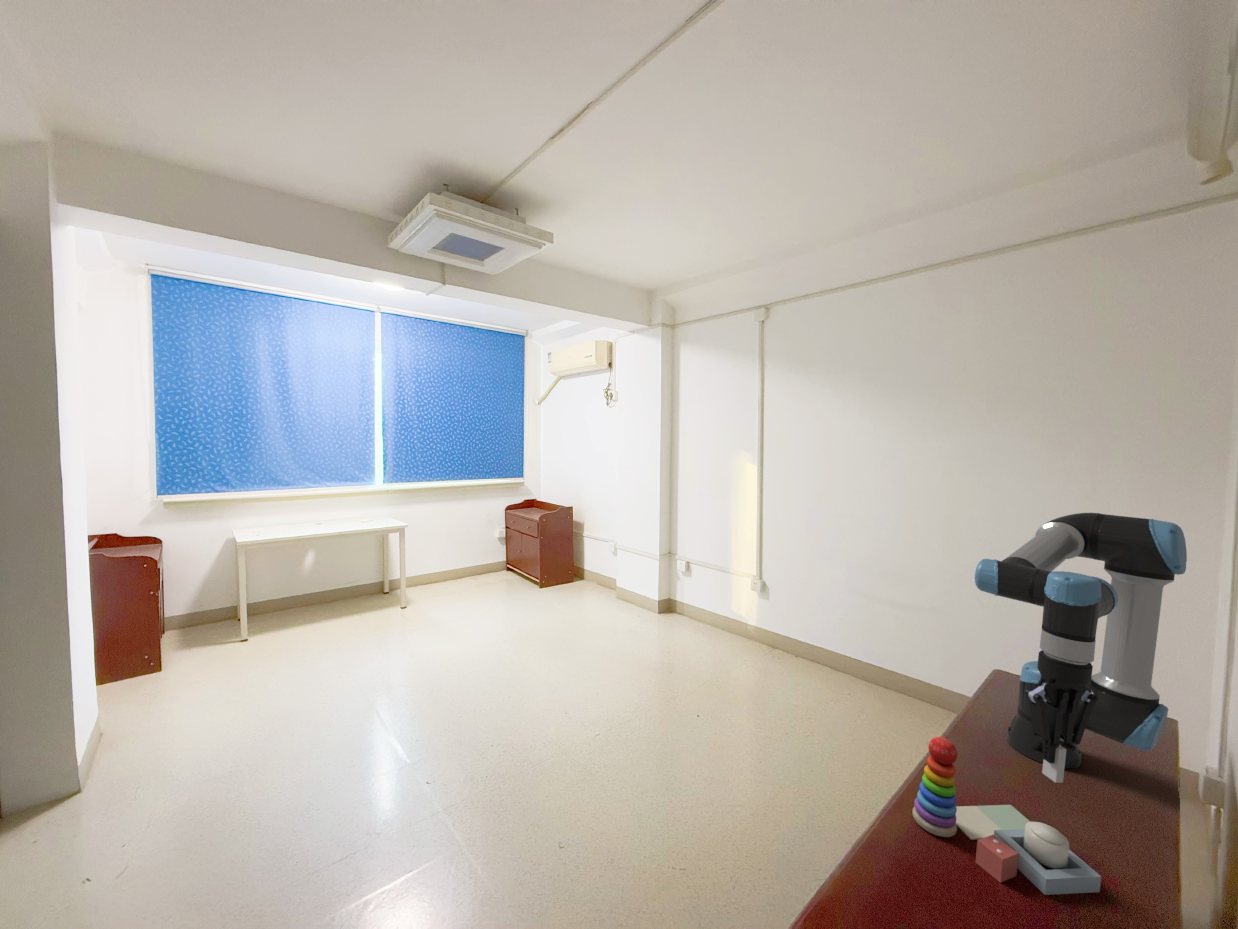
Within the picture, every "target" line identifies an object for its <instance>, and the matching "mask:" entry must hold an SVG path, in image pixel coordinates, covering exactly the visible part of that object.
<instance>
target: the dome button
mask: <svg viewBox="0 0 1238 929" xmlns="http://www.w3.org/2000/svg"><path fill="white" fill-rule="evenodd" d="M1023 847H1024V849H1025V851H1026V852H1027V853H1028V854H1029V855H1030V856H1031V857H1032V858H1033V859H1035V860H1036V861H1037V862H1038V863H1039V864H1040V865H1041V864H1042V865H1044V866H1046V867H1048V868H1051V869H1053V870H1056V869H1065V868H1066V867H1067V863H1068V853H1069V850H1070V842H1069V840H1068V839H1067V837H1066V836H1065V835H1064V834H1063V833H1061V832H1060V831H1059V830H1057V829H1056V828H1055V827H1053V826H1051V825H1049V824H1046V823H1044V822H1039V821H1030V822H1028V823H1026V825H1025V833H1024V843H1023Z"/></svg>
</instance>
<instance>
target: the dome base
mask: <svg viewBox="0 0 1238 929" xmlns="http://www.w3.org/2000/svg"><path fill="white" fill-rule="evenodd" d="M1024 833H1025V829H1012V830H994V836H996V837H997V838H999V839H1000V840H1001V841H1003V842H1004V843H1005V844H1007V845H1008V846H1009V847H1011V848H1012V849H1014V850H1015V851H1016V852H1018V853H1019V855H1018V865H1017V870H1018V871H1020V873H1022V875H1023V876H1024V877H1026V878H1027V879H1028V880H1029V881H1030V883H1031V884H1033V886H1035V888H1037V889H1038V890H1039V891H1040V892H1041V893H1042V894H1043V895H1044V896H1050V895H1052V896H1053V895H1054V896H1055V895H1069V894H1073V895H1074V894H1087V893H1091V894H1092V893H1100V892H1101V884H1102V883H1101V882H1102V876H1101V875H1100V874H1099V873H1098V872H1097V871H1095V870H1094V869H1093V868H1092V867H1091V866H1090V865H1088V864H1087V863H1086V862H1085V861H1083V860H1082V859H1081V858H1080V857H1079V856H1077V854H1075V853H1074V852H1073V851H1072V850H1071V849H1069V853H1068V863H1067V867H1066V868H1065V869H1046V868H1045V867H1043V866H1042V865H1041V863H1040V862H1038V861H1036V860H1035V859H1033V858H1032V857H1031V856H1030V855H1029V854H1028V853H1027V852H1026V851H1025V849H1024V847H1023V843H1024Z"/></svg>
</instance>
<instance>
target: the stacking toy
mask: <svg viewBox="0 0 1238 929" xmlns="http://www.w3.org/2000/svg"><path fill="white" fill-rule="evenodd" d="M928 752H929V755H930V756H928V757H927V759H926V764H925V766H924V768H923V772H924V773H923V775H922V777H921V780H922V781H921V782H920V783H919V790H918V791H917V793H916V797H915V799H914V800H913V801H914V803H913V804H914V806H913V808H912V810H911V811H912V813H911V814H912V817H913V819H914V821H916V823H917V824H918V825H919V826H920V827H921V828H922V829H923V830H925V831H927V832H928V833H930V834H932V835H934V836H937V837H943V838H950V837H951V838H952V837H954V836H955V835H956V834H957V833H958V832H957V831H958V826H957V825H956V811H957V808H956V806H957V805H956V801H957V798H956V792H957V789H956V785H955V783H956V778H955V776H954V775H955V774H956V767H955V765H954V763H955V762H956V761H957V759H958V750H957V748H956V746H955V744H954V743H953V742H952V741H950V740H949V739H947V738H945V737H942V736H935V737H932V738H931V740H930V741H929V743H928Z"/></svg>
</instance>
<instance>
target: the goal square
mask: <svg viewBox="0 0 1238 929" xmlns="http://www.w3.org/2000/svg"><path fill="white" fill-rule="evenodd" d="M975 806H976V807H977V808H978V809H979V810H981V811H982V812H983V813H984V814H985V815H986V816H987V817H988V818H989V819H990V820H991V821H992V822H994V823H995V824H996V825H997V826H998V827H999V828H1000V829H1001V830H1012V829H1025V825H1026V823H1028V822H1031V820H1029V819H1028V818H1027V817H1026V816H1024V815H1023V814H1022V813H1021V812H1020V811H1019V810H1017V809H1016V808H1015V807H1014V806H1013V805H1011V804H996V805H994V804H993V805H991V804H989V805H988V804H987V805H975Z"/></svg>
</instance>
